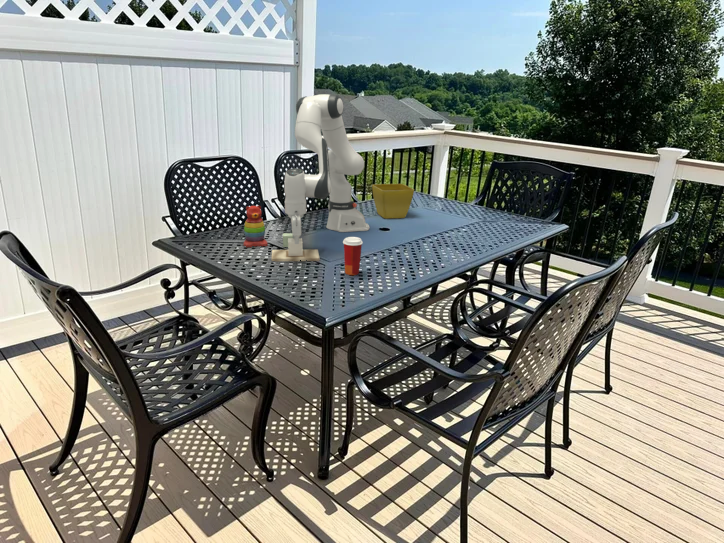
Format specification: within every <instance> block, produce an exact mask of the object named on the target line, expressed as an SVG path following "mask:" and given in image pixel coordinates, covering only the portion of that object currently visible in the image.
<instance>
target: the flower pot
mask: <svg viewBox="0 0 724 543" xmlns="http://www.w3.org/2000/svg"><path fill="white" fill-rule="evenodd" d="M371 188H372V196H373V202H374V206H375V209H376V212H377V215H379V216H380V217H382V218H383V219H384V220H385V219H405V218H406V216H407V215H408V212H409V210H410V206H411V204H412V201H413V197H414V192H415V189H414V188H413V187H410V186H408V185H406V184H404V183H385V184H383V183H379V184H377V183H375V184H372V185H371Z"/></svg>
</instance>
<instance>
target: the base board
mask: <svg viewBox="0 0 724 543" xmlns="http://www.w3.org/2000/svg"><path fill="white" fill-rule="evenodd" d="M319 254H320V253H319V249H318V248H317V249H316V248H315V249H312V248H311V249H303V256H288V249H272V250H271V262H272V261H275V262H320V255H319ZM300 260H301V261H300ZM306 260H307V261H306Z"/></svg>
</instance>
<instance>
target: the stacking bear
mask: <svg viewBox="0 0 724 543" xmlns="http://www.w3.org/2000/svg"><path fill="white" fill-rule="evenodd" d="M261 209H262V206H261V205H251V206H250V205H249V206H246V207H245V210H246V211H245V212H246V213H245V214H246V216H247V218H246V220H245V222H244V226H243V230H244V232H243V233H244V237H245V240H244V241H243V244H242V245H243V247H244V246H246V247H245V248H252V246H254V247H260V246H262V247H263V246H265V247H267V246H269V245H268V241H267V240H266V239H265V235H266V227H265V222H264V221H263V218H262V210H261ZM263 248H264V247H263Z"/></svg>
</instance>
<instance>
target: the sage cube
mask: <svg viewBox="0 0 724 543" xmlns="http://www.w3.org/2000/svg"><path fill="white" fill-rule="evenodd" d="M288 238H294V236H293V235H292V232H291V233H287V232H285V233H282V248H283V247H288Z"/></svg>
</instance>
